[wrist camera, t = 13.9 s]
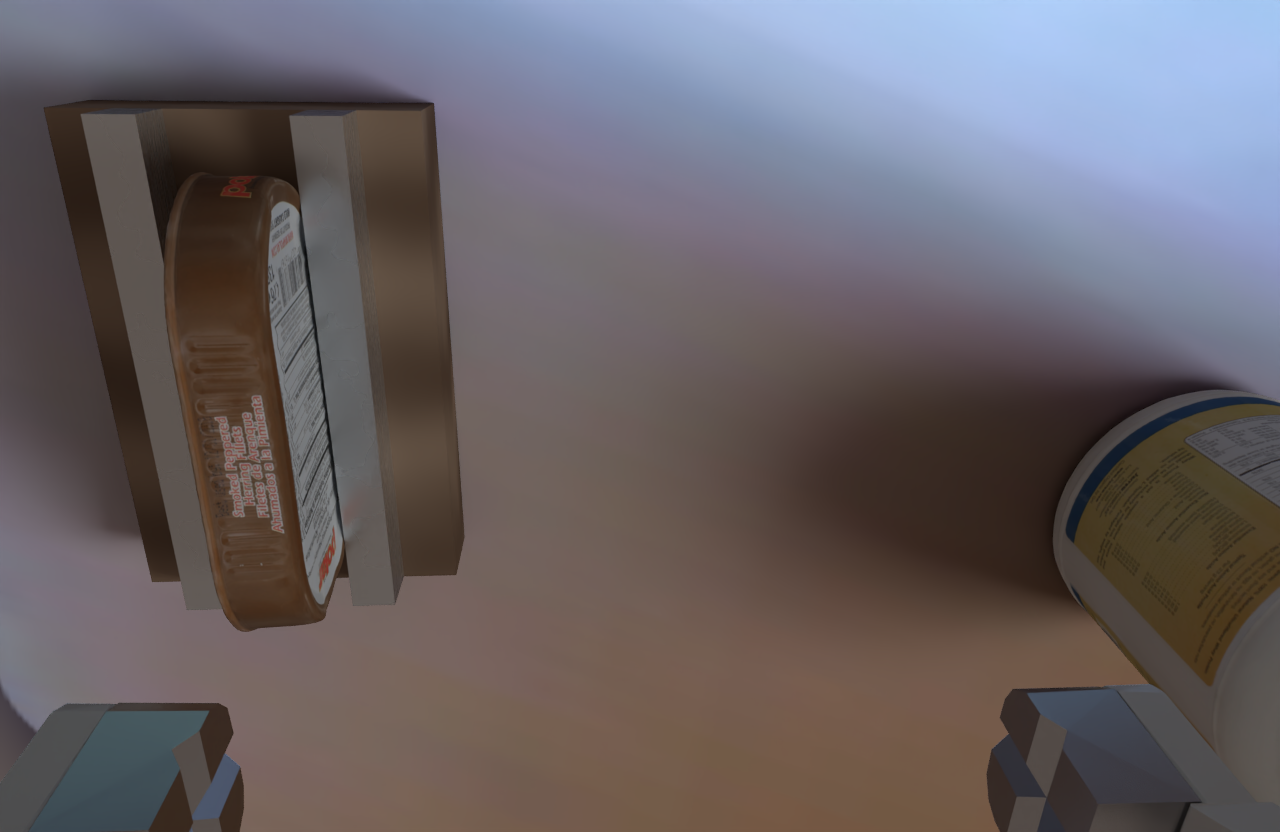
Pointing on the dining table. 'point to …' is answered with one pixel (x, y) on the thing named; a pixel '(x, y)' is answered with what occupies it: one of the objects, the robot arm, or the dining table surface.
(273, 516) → the tin
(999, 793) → the robot arm
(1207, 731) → the supplement tub
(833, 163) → the dining table surface
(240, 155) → the dock
